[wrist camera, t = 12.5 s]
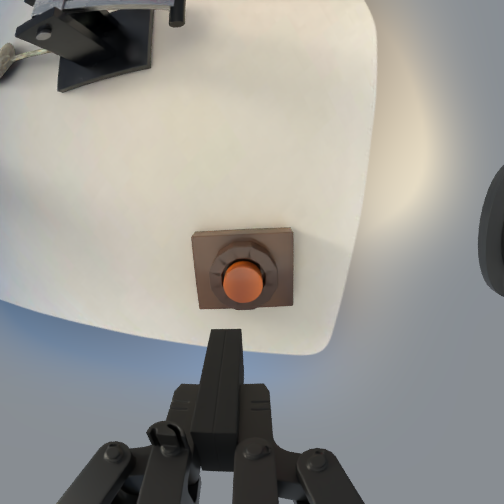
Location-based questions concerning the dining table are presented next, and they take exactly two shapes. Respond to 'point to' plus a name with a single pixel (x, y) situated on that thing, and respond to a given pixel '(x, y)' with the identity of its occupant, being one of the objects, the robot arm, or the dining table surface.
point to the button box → (244, 249)
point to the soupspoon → (6, 56)
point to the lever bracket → (92, 42)
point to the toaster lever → (115, 7)
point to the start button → (243, 282)
